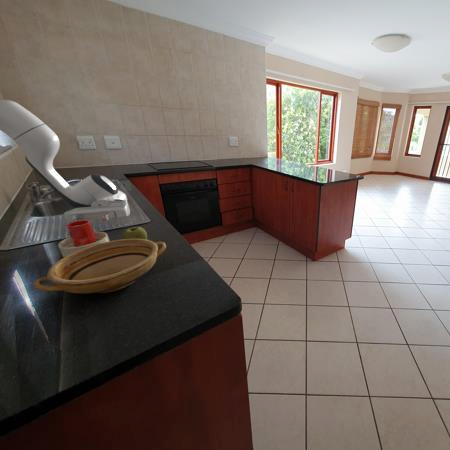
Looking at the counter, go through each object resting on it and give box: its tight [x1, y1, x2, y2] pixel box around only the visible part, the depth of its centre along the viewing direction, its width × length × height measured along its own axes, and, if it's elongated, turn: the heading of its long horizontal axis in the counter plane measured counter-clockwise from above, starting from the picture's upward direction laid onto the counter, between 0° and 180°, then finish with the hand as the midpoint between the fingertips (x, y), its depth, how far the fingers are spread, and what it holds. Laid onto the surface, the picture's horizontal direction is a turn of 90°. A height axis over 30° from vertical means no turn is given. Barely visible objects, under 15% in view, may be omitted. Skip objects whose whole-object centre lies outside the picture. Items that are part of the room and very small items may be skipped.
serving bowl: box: [57, 231, 111, 258], centre depth 84 cm, size 13×13×4 cm
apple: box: [121, 226, 148, 240], centre depth 87 cm, size 8×8×7 cm
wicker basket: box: [33, 238, 167, 295], centre depth 67 cm, size 30×24×8 cm
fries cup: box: [65, 220, 97, 247], centre depth 83 cm, size 6×6×10 cm
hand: (89, 219), depth 88 cm, fingers open, 8 cm apart
